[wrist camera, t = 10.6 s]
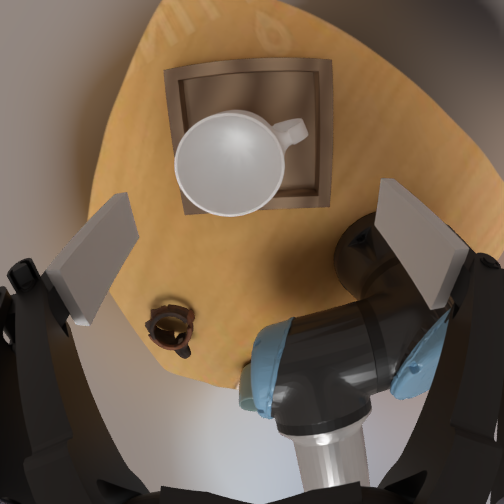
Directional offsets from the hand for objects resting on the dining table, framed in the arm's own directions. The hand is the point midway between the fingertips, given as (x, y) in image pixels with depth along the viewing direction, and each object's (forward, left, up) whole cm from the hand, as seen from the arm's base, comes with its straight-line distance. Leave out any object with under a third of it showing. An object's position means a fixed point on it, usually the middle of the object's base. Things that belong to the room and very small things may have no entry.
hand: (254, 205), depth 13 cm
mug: (+1, 0, -21) cm, 21 cm away
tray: (0, 0, -22) cm, 22 cm away
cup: (+2, +49, -22) cm, 54 cm away
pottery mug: (+17, +32, -22) cm, 42 cm away
